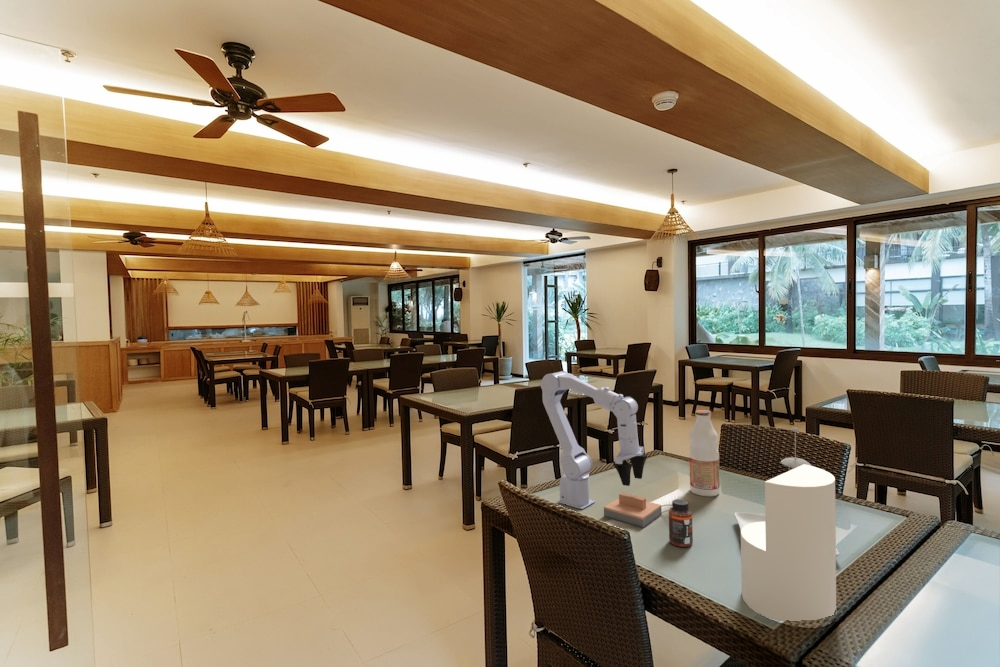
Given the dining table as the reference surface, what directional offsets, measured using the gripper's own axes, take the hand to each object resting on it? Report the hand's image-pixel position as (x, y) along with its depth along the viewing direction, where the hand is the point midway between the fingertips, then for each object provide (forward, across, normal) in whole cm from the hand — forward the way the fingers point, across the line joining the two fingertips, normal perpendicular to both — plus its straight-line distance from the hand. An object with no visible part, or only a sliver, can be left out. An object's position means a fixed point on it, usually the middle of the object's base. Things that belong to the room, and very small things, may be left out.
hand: (632, 481), depth 149 cm
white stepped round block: (+14, -20, -45) cm, 52 cm away
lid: (+8, 0, +1) cm, 8 cm away
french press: (+14, +39, -34) cm, 54 cm away
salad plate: (+14, +10, -37) cm, 41 cm away
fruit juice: (+12, +33, -8) cm, 36 cm away
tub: (+11, 0, +1) cm, 11 cm away
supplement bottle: (+12, -8, -18) cm, 23 cm away
